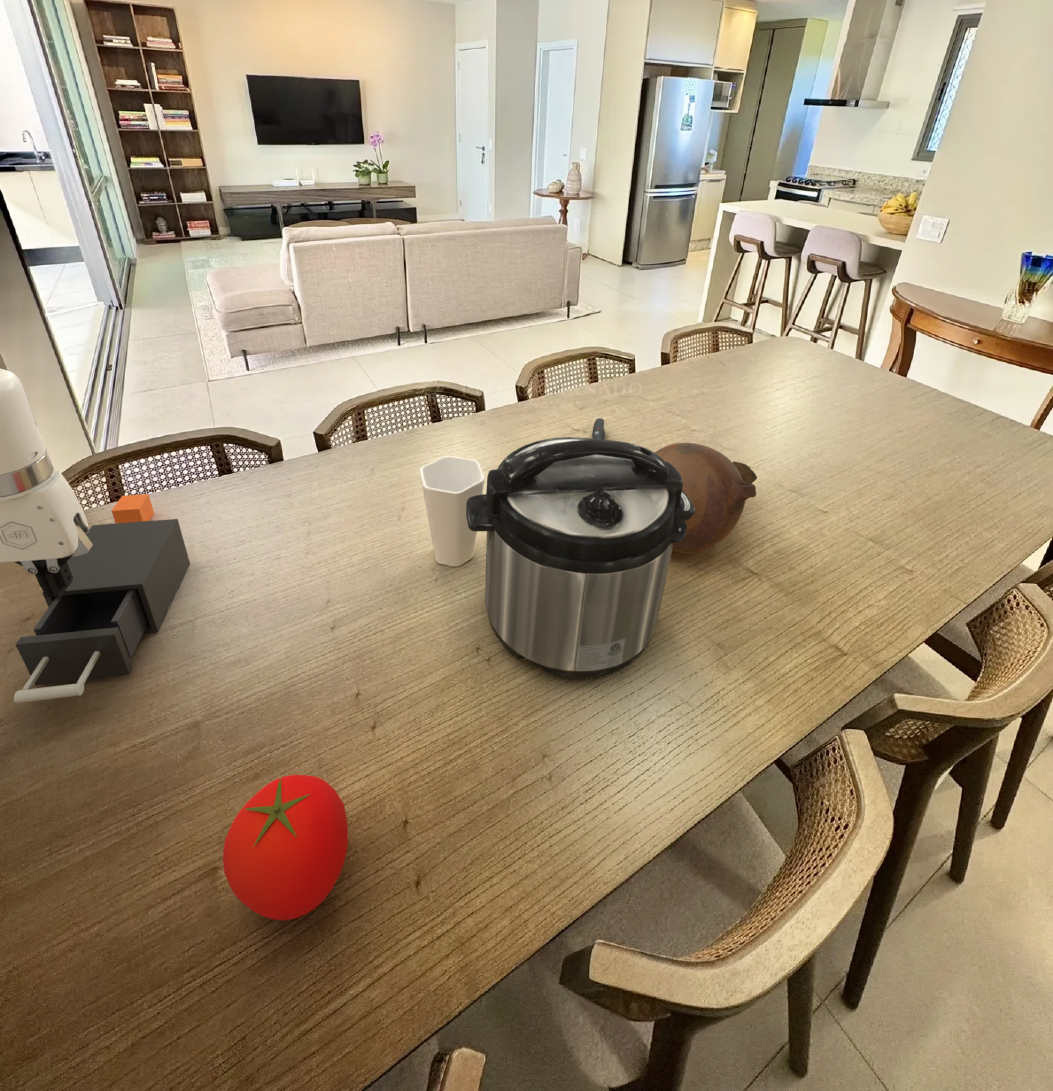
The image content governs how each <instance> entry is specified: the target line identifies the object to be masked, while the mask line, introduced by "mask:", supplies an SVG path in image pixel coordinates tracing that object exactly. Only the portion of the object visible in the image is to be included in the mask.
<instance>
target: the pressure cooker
mask: <svg viewBox="0 0 1053 1091" xmlns="http://www.w3.org/2000/svg"><path fill="white" fill-rule="evenodd" d="M654 452H655V451H653V450H651V449H649V448H647V447H644V446H641V445H637V444H635V443H631V442H627V441H619V440H612V439H604V440H597V439H592V438H588V437H579V436H578V437H575V436H574V437H573V436H564V437H552V438H545V439H541V440H536V441H533V442H531V443H528V444H524V445H522V446H520V447H518V448H517V449H515V450H513V451H512V452H510V453H509V454H508V455H507V456H506V457H504V459H503V460H502V461H501V463H500V464H499V465H498V466H497V468H495V469H490V470H489V471H488V473H487V476H486V492H485V493H483V494H482V495H476V496H472V497H470V498H468V500H467V503H466V517H467V523H468V527H469V529H470V530H471V531H477V532H486V546H485V547H486V548H485V550H486V551H485V577H484V578H485V582H484V604H485V610H486V615H487V618H488V620H489V625H490V627H491V629H492V631H493V633H494V635H495V637H496V638H497V639H498V640H499V642H500V643H501V644H502V645H503V647H504V648H505V649H506V650H507V651H508V652H509V653H510V655H512V656H513V657H514V658H516V659H517V660H521V661H522V660H528V662H529V663H530V664H532V665H533V666H534V665H535V666H536V667H539V668H540V670H542V671H544V672H546V673H549V674H550V675H552V677H555V678H560V679H565V680H574V681H581V680H582V681H585V680H594V679H595V680H596V679H599V678H604V677H607V676H610V675H613V674H615V673H618V672H619V671H621V670H623V669H625V668H626V667H628V666H630V665H631V664H632V663H633V662H634V661H635V660H637V659H638V658H639V657H640V656H641V655H642V653H644V651H645V650H646V649H647V647H648V646H649V645H650V642H651V641H652V640H653V636H654V633H655V631H656V629H657V625H658V621H659V620H658V619H659V614H660V610H661V605H662V600H663V596H664V591H665V586H666V582H667V577H668V572H669V566H670V561H671V556H672V552H673V550H672V548H673V543H676V542H681V541H682V540H683V539H684V537H685V534H686V530H687V524H686V522H685V521H686V520H688V519H690V518H691V517H692V516H693V515H694V514H695V508H694V506H693V504H692V502H691V500H690V499H689V497H688V496H687V495H686V494H685V492H684V491H683V490H682V488H683V481H682V477H681V475H680V473H679V472H678V471H677V470H676V469H675V467H674V466H672V465H671V464H670V463H669V462H665V461H664V460H663V459H662V458H661V457H660V456H659V455H657V454H656V453H654Z"/></svg>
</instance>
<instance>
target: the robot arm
mask: <svg viewBox="0 0 1053 1091" xmlns="http://www.w3.org/2000/svg"><path fill="white" fill-rule="evenodd" d="M89 529H90V527H89V523H88V519H87V516H86V515H85V512H84V510H83V508H82V505H81V503H80V501H79V500H78V497H77V496H76V493H75V492H74V489H73V488H72V487H71V485H70V484H69V482H68V481H67V479H66V477H65V476H64V475H63V473H61V471H59V470H55V468H54V465H53V462H52V461H51V458H50V455H49V453H48V450H47V447H46V445H45V442H44V440H43V437H42V434H41V432H40V429H39V426H38V423H37V421H36V418H35V415H34V413H33V411H32V407H31V404H30V403H29V399H28V396H27V394H26V392H25V389H24V386H23V384H22V381H21V380H20V378H19V376H17V375H16V373H14V372H12V371H10V370H7V369H3V368H0V563H15V564H17V565H19V566H21V567H23V568H24V570H25V571H26V573H28V574H29V575H34V576H35V579H36V580H37V582H38V585H39V587H40V589H41V590H42V594H43V593H44V595H45V597H46V598H50V597H52V596H55V597H61V596H62V594H63V593H64V592H65V590H66V589H67V588H68V586H69V585H70V584H71V583H72V580H73V576H72V574H71V571H70V569H69V566H68V564H67V561H68V560H69V559H70V558H71V557H76V556H80V555H84V554H87V553H88V552H89V551H90V549H91V548H92V547H93V544H92V542H91V541H90V540H89V538H88V537H87V534H88V533H89Z"/></svg>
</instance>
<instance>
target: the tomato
mask: <svg viewBox="0 0 1053 1091" xmlns="http://www.w3.org/2000/svg"><path fill="white" fill-rule="evenodd" d="M348 847H349V826H348V818H347V812H346V808H345V804H344V802H343V800H342V799H341V796H340V795H339V794H338V792H337V791H336V789H335V788H334V787H333V786H332V785H330V783H329V782H327V781H326V780H324V779H323V778H320V777H318V776H314V775H308V774H291V775H285V776H282V777H281V776H280V777H278V778H276V779H274V780H272V781H271V782H269V783H267V784H266V785H264V787H262V788H261V789H259V790H258V791H257V792H256V793H255V794H254V795H253V796H252V797H251V798H250V799H249V800H248V801H247V802H246V803H245V804H244V805H243V806H242V808H241V809H240V810H239V811H238V813H237V815H236V816H235V817H234V819H233V821H232V823H231V825H230V827H229V829H228V832H227V834H226V836H225V839H224V843H223V850H222V865H223V873H224V875H225V877H226V880H227V883H228V885H229V887H230V889H231V891H232V893H233V894H234V896H236V898H237V899H238V900H239V901H240V902H241V903H242V904H243V905H245V906H246V908H248V909H250V910H251V911H252V912H254V913H256V914H258V915H259V916H261V917H264V918H266V919H270V920H273V921H290V920H294V919H298V918H300V917H303V916H305V915H307V914H309V913H310V912H312V911H313V910H315V909H316V908H317V907H319V906H320V905H321V904H322V903H323V901H325V899H326V898H327V897H328V896H329V894H330V893H331V891H332V890H333V888H334V886H335V885H336V883H337V881H338V879H339V878H340V875H341V873H342V870H343V867H344V865H345V861H346V856H347V852H348Z"/></svg>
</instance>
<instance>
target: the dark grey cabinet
mask: <svg viewBox="0 0 1053 1091" xmlns="http://www.w3.org/2000/svg"><path fill="white" fill-rule="evenodd" d="M87 537H88V538H89V540H90V541H91V542H92V544H93V547H92V548H91V549H90V551H89V552H88V553H87V554H84V555H80V556H76V557H71V558H70V559H69V560H68V561H67V564H68V566H69V569H70V571H71V574H72V576H73V580H72V583H71V584H70V585H69V586H68V588H67V589H66V590H65V592H64V593H63V594H62V595H73V594H84V593H95V592H106V591H117V590H128V589H138V592H139V595H140V597H141V600H142V603H143V606H144V609H145V612H146V615H147V618H148V621H149V623H148V625H147V627H146V629H145V631H144V633H143V635H144V634H153V633H159V631H160V629H161V627H162V624H163V622H164V620H165V618H166V617H167V616H166V615H167V613H168V611H169V609H170V607H171V605H172V603H173V601H174V599H175V596H176V594H177V592H178V591H179V588H180V587H181V584H182V581H183V580H184V578H185V575H186V573H187V572H188V569H189V567H190V565H191V561H190V558H189V555H188V551H187V546H186V544H185V541H184V536H183V533H182V529H181V525H180V523H179V519H178V518H171V519H169V518H168V519H158V520H150V521H142V522H128V523H115V522H114V523H104V524H102V523H101V524H92V525H91V526H90V527H89V533H88V534H87ZM42 596H43V598H44V601H45V602H46V605H47V607H48V608H49V606H50V605H51V604H52V602H53V601H54V599H55V598H56V597H55V596H52V597H50V598H46V597H45V595H44V593H43V592H42Z"/></svg>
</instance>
